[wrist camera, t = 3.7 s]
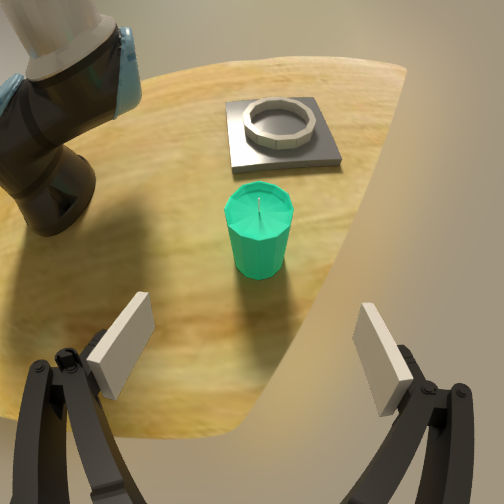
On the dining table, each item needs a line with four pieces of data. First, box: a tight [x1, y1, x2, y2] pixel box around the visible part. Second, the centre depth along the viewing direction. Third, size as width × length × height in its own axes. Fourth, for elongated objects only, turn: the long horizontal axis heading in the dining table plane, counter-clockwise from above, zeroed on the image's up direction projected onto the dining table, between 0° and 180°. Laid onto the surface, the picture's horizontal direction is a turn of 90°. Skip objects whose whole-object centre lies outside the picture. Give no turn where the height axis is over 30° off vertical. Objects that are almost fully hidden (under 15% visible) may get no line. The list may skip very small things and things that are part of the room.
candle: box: [224, 181, 294, 280], centre depth 28 cm, size 6×6×12 cm
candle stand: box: [225, 97, 342, 174], centre depth 40 cm, size 16×16×4 cm
